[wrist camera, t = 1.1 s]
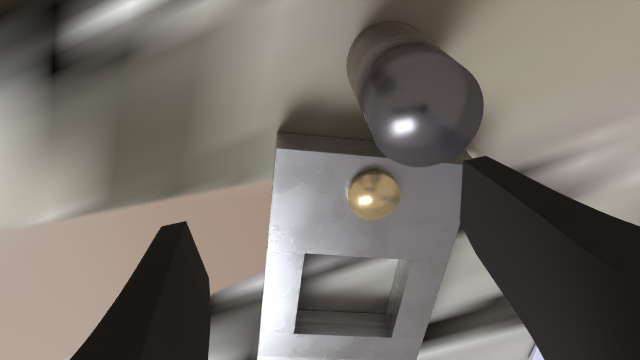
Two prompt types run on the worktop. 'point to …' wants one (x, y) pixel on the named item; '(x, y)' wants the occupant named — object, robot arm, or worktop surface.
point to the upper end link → (355, 241)
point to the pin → (413, 95)
